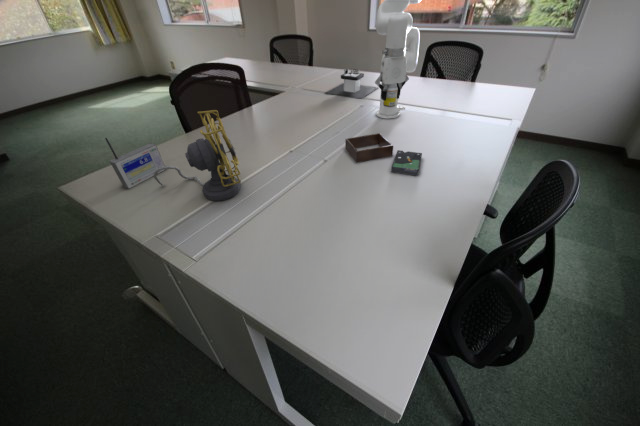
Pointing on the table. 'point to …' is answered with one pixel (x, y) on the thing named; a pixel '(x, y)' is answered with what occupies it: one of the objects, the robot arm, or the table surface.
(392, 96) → the supplement bottle
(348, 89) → the black-topped pedestal
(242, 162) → the table surface
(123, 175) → the electronic device
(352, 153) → the desk caddy
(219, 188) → the electric fan
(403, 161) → the disk drive
